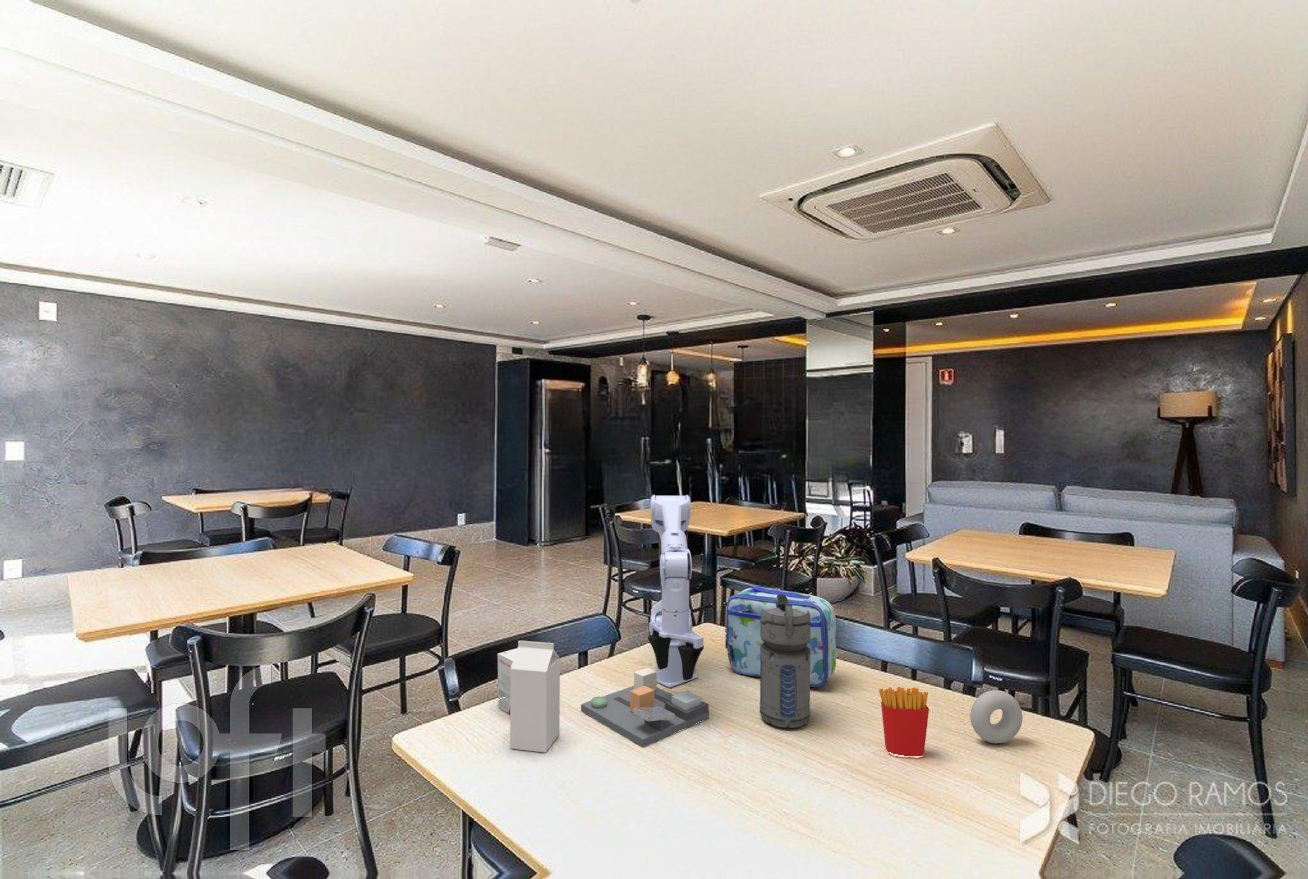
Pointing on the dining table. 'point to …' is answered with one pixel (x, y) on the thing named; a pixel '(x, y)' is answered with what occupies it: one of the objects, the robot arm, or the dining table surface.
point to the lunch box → (747, 641)
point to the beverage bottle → (785, 665)
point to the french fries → (904, 720)
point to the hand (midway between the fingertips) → (675, 673)
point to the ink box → (505, 678)
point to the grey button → (686, 700)
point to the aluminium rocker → (653, 713)
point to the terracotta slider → (641, 698)
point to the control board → (642, 732)
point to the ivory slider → (645, 679)
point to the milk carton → (534, 696)
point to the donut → (1009, 719)
